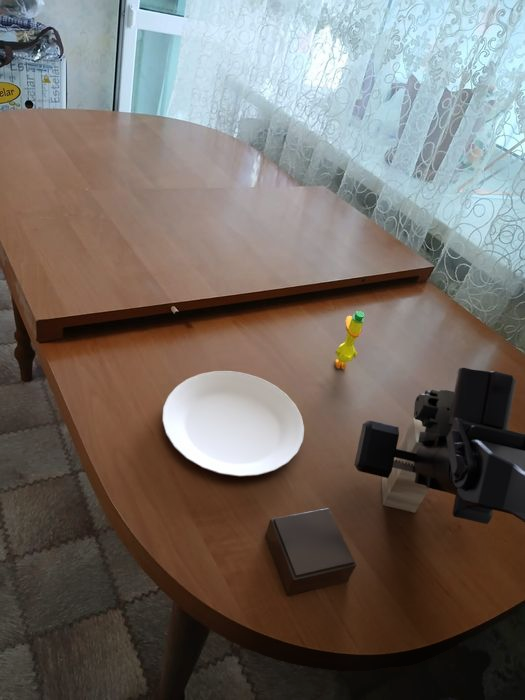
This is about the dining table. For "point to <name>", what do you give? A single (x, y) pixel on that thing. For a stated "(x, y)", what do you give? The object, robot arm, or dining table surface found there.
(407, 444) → the block
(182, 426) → the plate
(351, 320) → the toy figure
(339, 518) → the dining table surface
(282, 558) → the stand
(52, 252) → the dining table surface
